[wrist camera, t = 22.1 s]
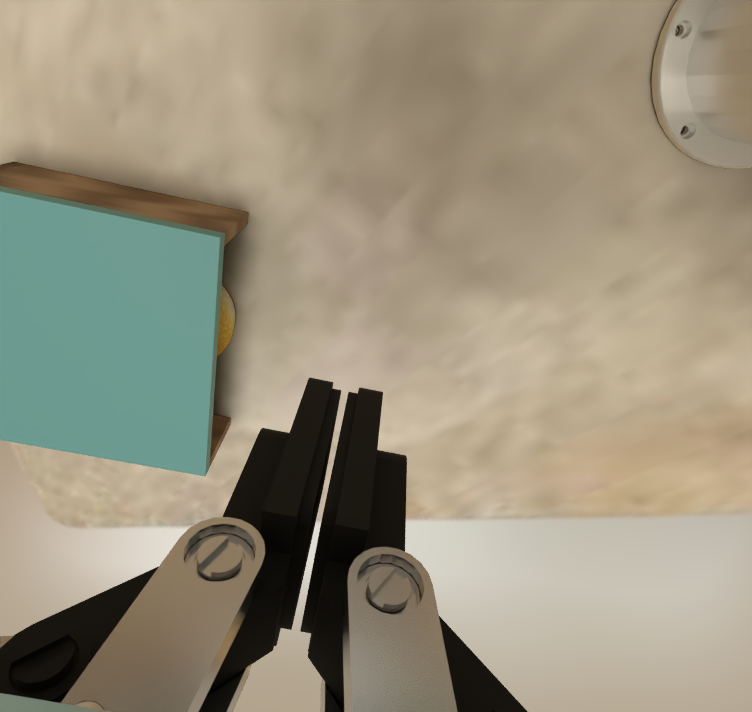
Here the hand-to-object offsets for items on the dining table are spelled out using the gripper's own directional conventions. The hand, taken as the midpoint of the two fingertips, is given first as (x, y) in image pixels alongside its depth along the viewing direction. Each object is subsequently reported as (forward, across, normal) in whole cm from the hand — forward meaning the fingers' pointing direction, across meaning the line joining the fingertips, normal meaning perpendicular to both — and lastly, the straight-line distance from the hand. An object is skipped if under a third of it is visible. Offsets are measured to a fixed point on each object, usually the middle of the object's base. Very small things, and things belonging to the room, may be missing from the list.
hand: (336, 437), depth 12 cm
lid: (+20, +17, +12) cm, 29 cm away
